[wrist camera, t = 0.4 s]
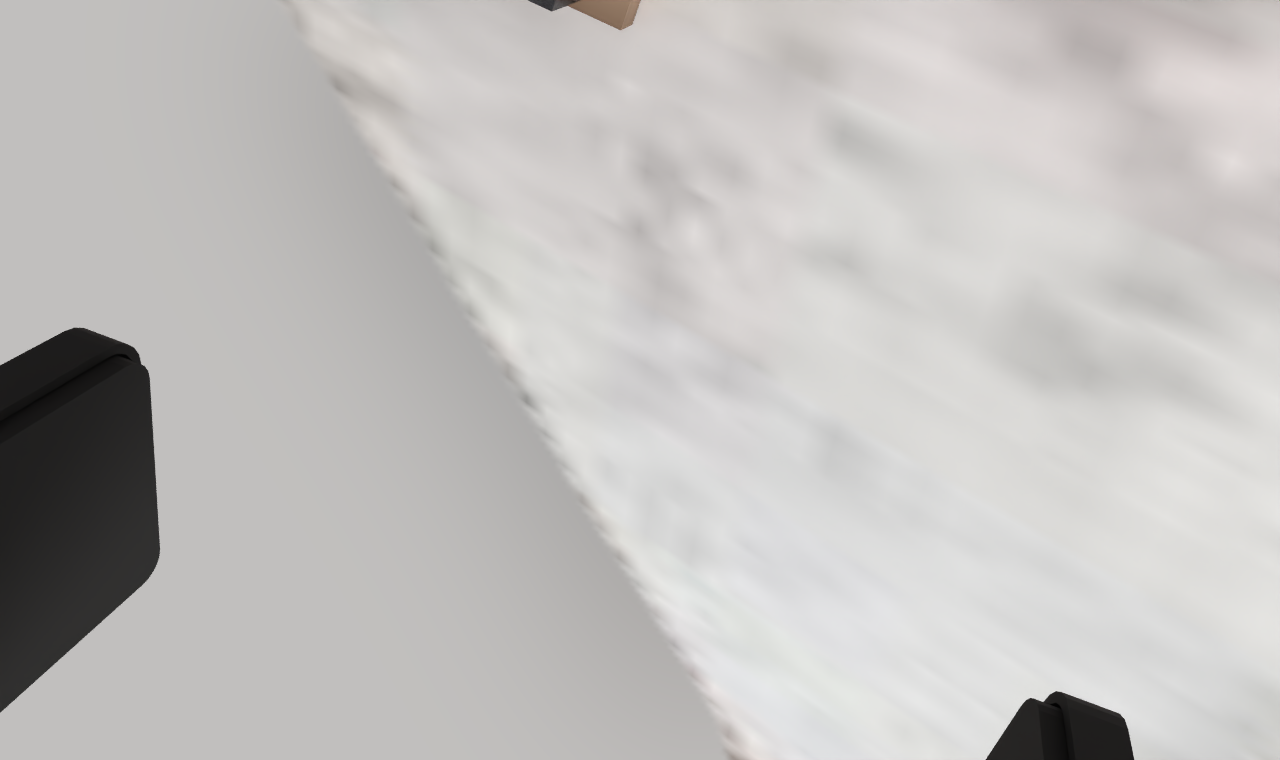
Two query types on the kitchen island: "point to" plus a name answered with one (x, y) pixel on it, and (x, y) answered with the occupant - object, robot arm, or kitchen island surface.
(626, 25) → the door panel
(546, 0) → the keeper
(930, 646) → the kitchen island surface
